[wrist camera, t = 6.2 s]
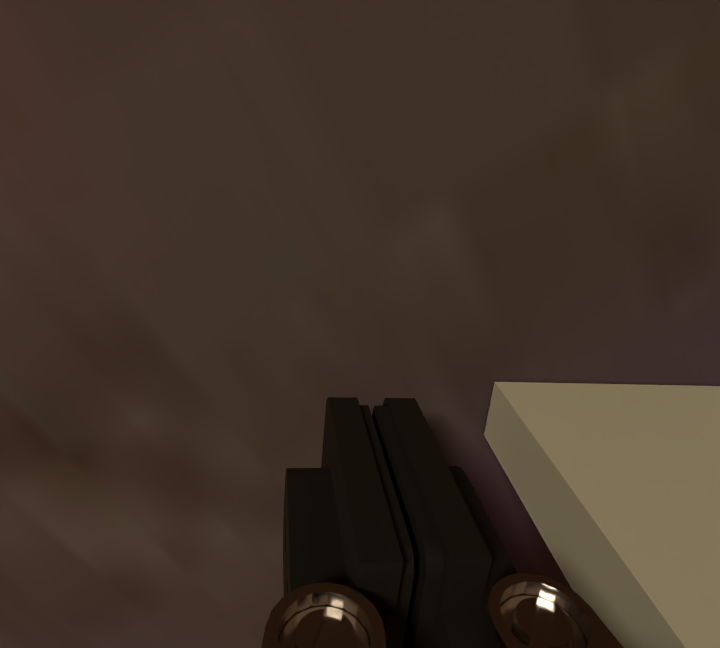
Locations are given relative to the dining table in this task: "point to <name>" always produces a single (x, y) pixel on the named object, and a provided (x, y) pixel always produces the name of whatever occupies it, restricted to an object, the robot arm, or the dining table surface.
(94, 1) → the dining table surface
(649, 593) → the loose leaf
